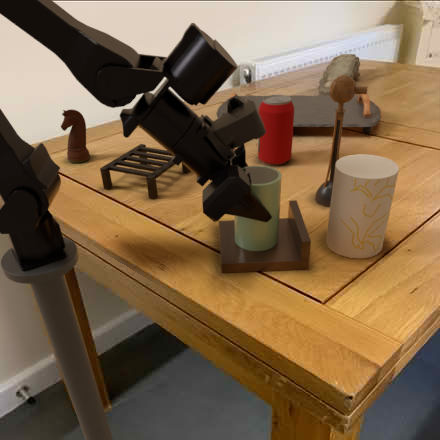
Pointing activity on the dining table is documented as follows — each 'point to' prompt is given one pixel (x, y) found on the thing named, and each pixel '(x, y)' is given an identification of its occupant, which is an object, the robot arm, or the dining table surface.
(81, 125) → the chess piece
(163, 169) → the rack
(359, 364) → the dining table surface
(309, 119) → the serving tray
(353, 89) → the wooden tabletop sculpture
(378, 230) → the white patterned canister
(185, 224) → the dining table surface
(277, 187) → the green cup
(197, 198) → the dining table surface
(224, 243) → the shelf
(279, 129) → the beverage can
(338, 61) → the elongated rock
